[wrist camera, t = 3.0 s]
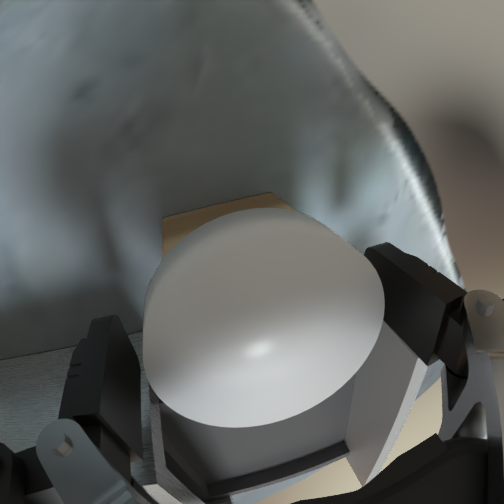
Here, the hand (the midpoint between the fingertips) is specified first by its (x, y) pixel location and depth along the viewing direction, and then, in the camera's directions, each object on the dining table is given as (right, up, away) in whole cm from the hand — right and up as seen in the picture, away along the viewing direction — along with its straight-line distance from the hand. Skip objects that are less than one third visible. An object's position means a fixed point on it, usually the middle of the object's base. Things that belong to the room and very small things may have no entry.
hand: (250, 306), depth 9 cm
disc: (0, 0, -1) cm, 1 cm away
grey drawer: (+1, -8, +6) cm, 10 cm away
